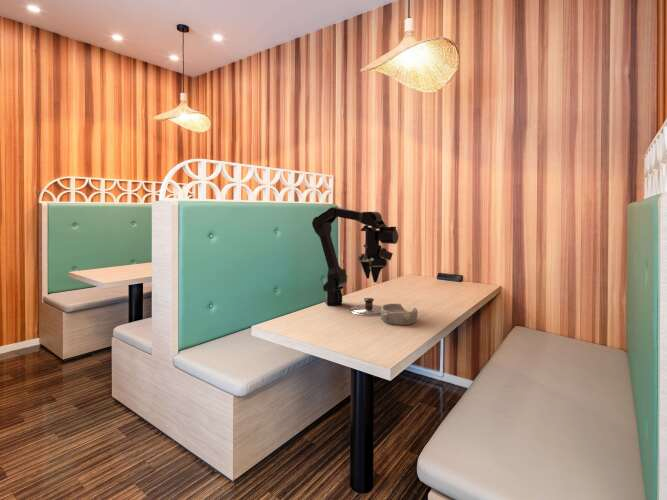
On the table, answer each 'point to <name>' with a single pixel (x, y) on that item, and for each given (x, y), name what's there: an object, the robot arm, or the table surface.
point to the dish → (398, 314)
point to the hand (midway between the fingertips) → (371, 280)
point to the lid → (366, 308)
